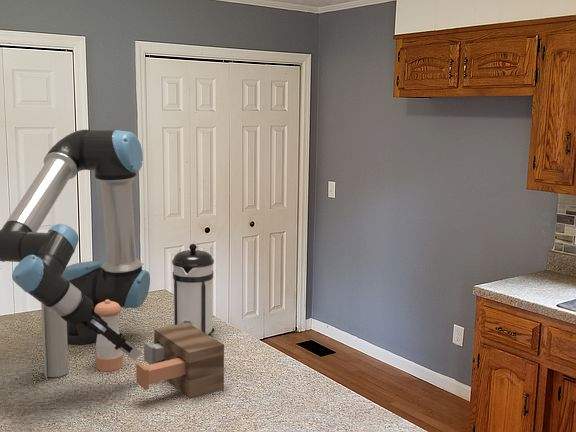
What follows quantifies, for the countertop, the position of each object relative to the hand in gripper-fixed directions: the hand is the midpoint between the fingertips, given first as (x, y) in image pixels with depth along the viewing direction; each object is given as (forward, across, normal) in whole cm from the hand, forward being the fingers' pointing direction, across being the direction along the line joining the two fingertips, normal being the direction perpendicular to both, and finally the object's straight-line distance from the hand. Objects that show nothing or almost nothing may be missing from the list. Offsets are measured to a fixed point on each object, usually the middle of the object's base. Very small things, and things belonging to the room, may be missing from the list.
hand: (137, 355), depth 164 cm
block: (+14, +6, +3) cm, 15 cm away
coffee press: (+26, -23, +15) cm, 38 cm away
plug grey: (+9, 0, +5) cm, 10 cm away
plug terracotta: (+4, +12, 0) cm, 13 cm away
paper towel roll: (-6, -17, -17) cm, 25 cm away
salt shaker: (+4, -14, -7) cm, 16 cm away
